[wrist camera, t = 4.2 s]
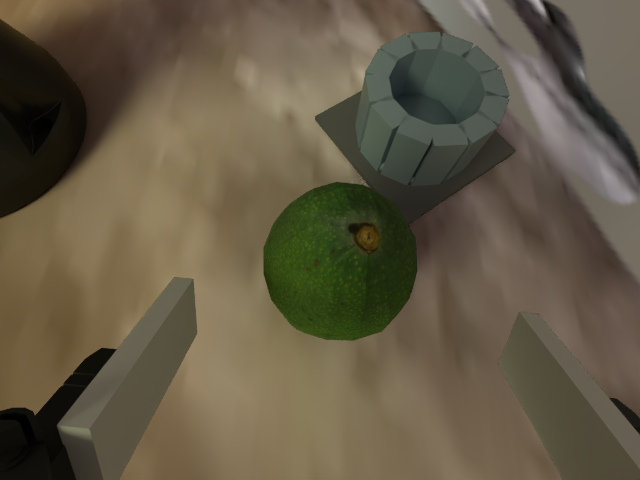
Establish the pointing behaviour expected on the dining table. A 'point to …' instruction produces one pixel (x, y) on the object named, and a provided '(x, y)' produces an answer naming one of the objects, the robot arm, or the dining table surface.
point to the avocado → (340, 262)
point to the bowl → (428, 107)
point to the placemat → (406, 197)
